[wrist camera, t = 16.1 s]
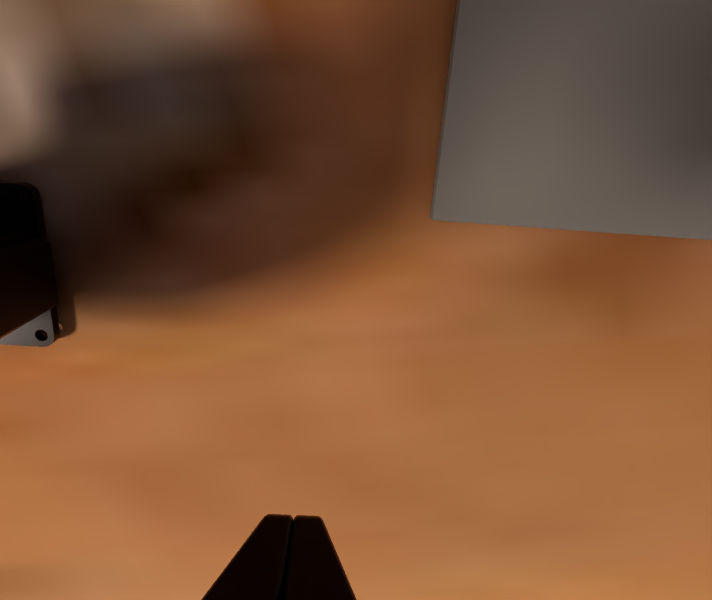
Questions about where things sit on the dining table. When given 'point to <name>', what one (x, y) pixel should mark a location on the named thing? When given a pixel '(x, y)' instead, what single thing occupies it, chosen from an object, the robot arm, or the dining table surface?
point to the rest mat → (579, 117)
